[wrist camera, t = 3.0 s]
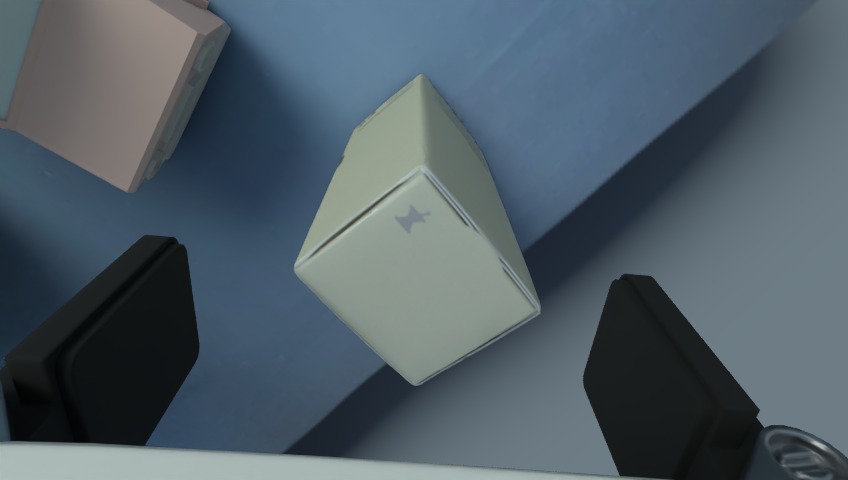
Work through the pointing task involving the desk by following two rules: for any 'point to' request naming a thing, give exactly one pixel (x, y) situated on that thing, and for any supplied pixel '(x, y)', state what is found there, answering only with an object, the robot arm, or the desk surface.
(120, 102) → the toy car
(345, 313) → the box
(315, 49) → the desk surface
